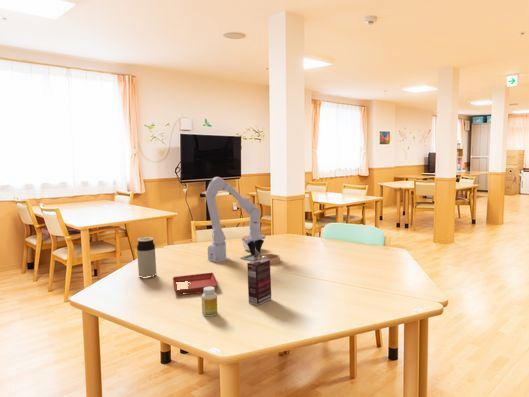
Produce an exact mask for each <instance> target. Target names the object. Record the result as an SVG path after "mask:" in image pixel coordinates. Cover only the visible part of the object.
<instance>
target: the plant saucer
mask: <svg viewBox="0 0 529 397" xmlns="http://www.w3.org/2000/svg"><path fill="white" fill-rule="evenodd" d="M185 281H188V282H190V283H191V284H190V283H188V285H189V286H188V289H180V290H177V284H176V282H185ZM172 284H173V286H172V287H173V291H174V292H175V293H176V294H177V295H178V294H182V295H184V294H183V293H191V294H195V293H194V292H200V293H204V292H203V289H204V288H205V287H209V286H211V287H214V288H215V290H216V289H217V288H218V286H219V283H218V281H217V279H216V276H215V274H214V272H206V273H197V274H188V275H177V276H173V277H172Z"/></svg>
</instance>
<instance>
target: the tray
mask: <svg viewBox="0 0 529 397" xmlns="http://www.w3.org/2000/svg"><path fill="white" fill-rule="evenodd" d="M262 254H263V253H261V252H260V253H259V255H262ZM259 255H258V256H259ZM258 256H253V255H251V253H250V254H248V255H244V256H241V257H240V260H243V261H248V262H252V261H255V260H258Z"/></svg>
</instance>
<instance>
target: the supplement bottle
mask: <svg viewBox="0 0 529 397" xmlns="http://www.w3.org/2000/svg"><path fill="white" fill-rule="evenodd" d="M215 291H216V289H215V288H214V287H211V286H209V287H205V288H204V289H203V292H202V295H201V312H202V313H201V314H202V315H203V316H204V317H206V316H212V317H215V316H217V314H218V294H217V293H216V292H215ZM214 315H215V316H214Z"/></svg>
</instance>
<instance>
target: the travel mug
mask: <svg viewBox="0 0 529 397" xmlns="http://www.w3.org/2000/svg"><path fill="white" fill-rule="evenodd" d="M136 240H137V245H136V254H137V266H138V267H137V270H138V277H139V276H142V277H147V276H153V275H155V274H156V275H157V262H156V259H157V258H156V245H155V243H154V240H155V238H154V237H151V236H146V237H145V236H144V237H139V238H137V239H136Z"/></svg>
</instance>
